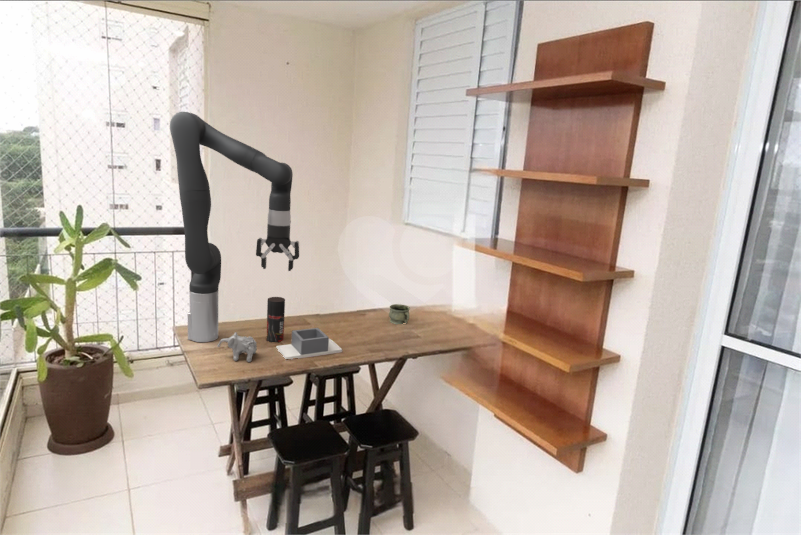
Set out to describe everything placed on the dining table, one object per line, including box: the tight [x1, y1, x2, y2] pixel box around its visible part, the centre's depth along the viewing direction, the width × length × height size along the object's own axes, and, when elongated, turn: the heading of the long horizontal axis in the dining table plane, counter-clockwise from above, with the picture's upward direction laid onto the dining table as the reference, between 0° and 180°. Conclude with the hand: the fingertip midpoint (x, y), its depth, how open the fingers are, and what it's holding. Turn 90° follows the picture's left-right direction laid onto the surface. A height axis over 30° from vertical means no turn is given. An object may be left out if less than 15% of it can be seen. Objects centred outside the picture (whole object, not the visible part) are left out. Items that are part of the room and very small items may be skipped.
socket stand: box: [275, 327, 343, 360], centre depth 172 cm, size 20×10×6 cm, turn 121°
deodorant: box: [265, 296, 286, 343], centre depth 178 cm, size 6×6×15 cm
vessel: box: [388, 303, 411, 325], centre depth 209 cm, size 12×9×6 cm
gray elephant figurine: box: [217, 331, 258, 363], centre depth 161 cm, size 9×12×8 cm
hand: (277, 269), depth 173 cm, fingers open, 8 cm apart
